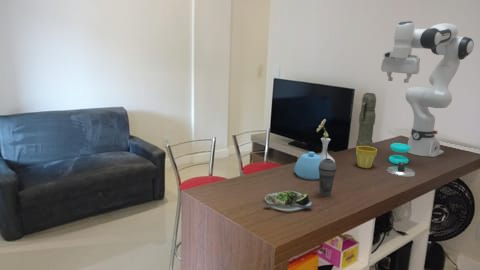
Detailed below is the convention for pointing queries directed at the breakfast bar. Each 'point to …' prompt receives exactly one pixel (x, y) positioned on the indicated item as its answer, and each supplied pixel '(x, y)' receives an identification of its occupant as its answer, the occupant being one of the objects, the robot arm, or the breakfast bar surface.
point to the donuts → (402, 149)
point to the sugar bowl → (308, 166)
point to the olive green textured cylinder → (366, 120)
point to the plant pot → (365, 156)
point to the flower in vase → (324, 143)
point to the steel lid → (401, 170)
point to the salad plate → (288, 201)
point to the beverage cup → (326, 176)
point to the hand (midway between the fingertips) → (397, 81)
